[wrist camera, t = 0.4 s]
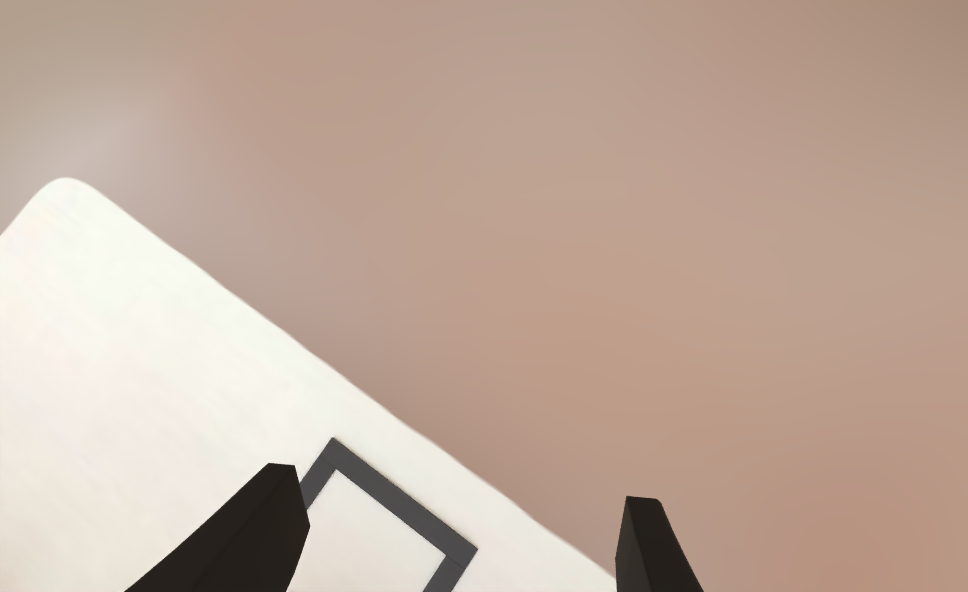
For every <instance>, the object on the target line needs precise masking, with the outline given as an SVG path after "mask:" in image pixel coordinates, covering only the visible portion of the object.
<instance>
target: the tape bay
mask: <svg viewBox="0 0 968 592" xmlns="http://www.w3.org/2000/svg"><path fill="white" fill-rule="evenodd" d="M335 469H337V470H338V471H340V472H341V473H342V474H344V475H345V476H346V477H347V478H349V479H350V480H351V481H353V482H354V483H355V484H356V485H358V486H359V487H360V488H361V489H363V490H364V491H365V492H367V493H368V494H369V495H370V496H372V497H373V498H374V499H375V500H377V501H378V502H379V503H381V504H382V505H383V506H384V507H386V508H387V509H388V510H389V511H391V512H392V513H393V514H395V515H396V516H397V517H398V518H400V519H401V520H402V521H404V522H405V523H406V524H407V525H409V526H410V527H411V528H412V529H414V530H415V531H416V532H418V533H419V534H420V535H421V536H423V537H424V538H425V539H426V540H428V541H429V542H430V543H432V544H433V545H434V546H435V547H437V548H438V549H439V550H441V551H442V552H443V553H444V554H446V557H445V559H444V560H443V562H442V563H441V565H440V566H439V568H438V569H437V571H436V572H435V574H434V576H433V577H432V579H431V580H430V582H429V583H428V585H427V586H426V588H425V589H424V591H423V592H451V591H452V589H453V587H454V586H455V584H456V583H457V581H458V580H459V578H460V576H461V575H462V573H463V572H464V570H465V569H466V567H467V566H468V564H469V562H470V561H471V559H472V558H473V556H474V555H475V553H476V551H477V550H478V549H477V548H476V547H474V546H473V545H472V544H470V543H469V542H468V541H467V540H465V539H464V538H463V537H461V536H460V535H459V534H457V533H456V532H455V531H454V530H452V529H451V528H450V527H448V526H447V525H446V524H444V523H443V522H442V521H441V520H439V519H438V518H437V517H435V516H434V515H433V514H431V513H430V512H429V511H428V510H426V509H425V508H424V507H422V506H421V505H420V504H418V503H417V502H416V501H415V500H413V499H412V498H411V497H409V496H408V495H407V494H405V493H404V492H403V491H402V490H400V489H399V488H398V487H396V486H395V485H394V484H392V483H391V482H390V481H389V480H387V479H386V478H385V477H383V476H382V475H381V474H379V473H378V472H377V471H376V470H374V469H373V468H372V467H370V466H369V465H368V464H366V463H365V462H364V461H363V460H361V459H360V458H359V457H357V456H356V455H355V454H353V453H352V452H351V451H350V450H348V449H347V448H346V447H344V446H343V445H342V444H340V443H339V442H338V441H337V440H335V439H334V438H331V440H330V441H329V443H328V444H327V445H326V447H325V448H324V450H323V451H322V452H321V454H320V455H319V457H318V458H317V460H316V461H315V462H314V464H313V465H312V467H311V468H310V470H309V471H308V472H307V474H306V475H305V477H304V478H303V479H302V481H301V482H300V488H301V492H302V496H303V500H304V504H305V508H306V510H307V509H308V508H309V506H310V505H311V503H312V502H313V500H314V499H315V498H316V496H317V495H318V493H319V492H320V490H321V489H322V488H323V486H324V485H325V483H326V482H327V480H328V479H329V477H330V476H331V475H332V473H333V472H334V470H335Z"/></svg>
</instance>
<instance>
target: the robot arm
mask: <svg viewBox="0 0 968 592" xmlns="http://www.w3.org/2000/svg"><path fill="white" fill-rule="evenodd" d="M309 529H310V523H309V519H308V515H307V511H306V508H305V504H304V500H303V496H302V492H301V488H300V484H299V480H298V477H297V473H296V469H295V465H285V464H274V463H268V464H267V465H266V466H265V467H264V468H262V469H261V470H260V471H259V472H258V473H257V474H256V475H255V476H254V477H253V478H252V479H251V480H250V481H248V482H247V483H246V484H245V485H244V486H243V487H242V488H241V489H240V490H239V491H238V492H237V493H236V494H235V495H234V496H233V497H231V498H230V499H229V500H228V501H227V502H226V503H225V504H224V505H223V506H222V507H221V508H220V509H219V510H218V511H217V512H215V513H214V514H213V515H212V516H211V517H210V518H209V519H208V520H207V521H206V522H205V523H203V524H202V525H201V526H200V527H199V528H198V529H197V530H196V531H195V532H193V533H192V534H191V535H190V536H189V537H188V538H187V539H186V540H185V541H184V542H182V543H181V544H180V545H179V546H178V547H177V548H176V549H175V550H173V551H172V552H171V553H170V554H169V555H168V556H166V557H165V558H164V559H163V560H162V561H160V562H159V563H158V564H157V565H156V566H154V567H153V568H152V569H151V570H150V571H149V572H147V573H146V574H145V575H144V576H143V577H141V578H140V579H139V580H138V581H137V582H136V583H134V584H133V585H132V586H131V587H129V588H128V589H127V590H126V591H124V592H286V590H287V588H288V586H289V584H290V582H291V579H292V577H293V575H294V573H295V570H296V567H297V564H298V561H299V559H300V556H301V553H302V550H303V547H304V544H305V541H306V538H307V535H308V532H309ZM615 562H616V583H617V592H704V591H703V589H702V588H701V586H700V584H699V582H698V580H697V578H696V576H695V574H694V573H693V571H692V569H691V567H690V565H689V563H688V561H687V559H686V557H685V555H684V553H683V551H682V549H681V547H680V545H679V542H678V541H677V538H676V536H675V534H674V532H673V530H672V528H671V525H670V523H669V521H668V518H667V516H666V514H665V511H664V509H663V507H662V504H661V503H660V502H659V501H658V500H657V499H653V498H642V497H632V496H626V501H625V507H624V513H623V518H622V524H621V529H620V535H619V541H618V546H617V552H616V557H615Z"/></svg>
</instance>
